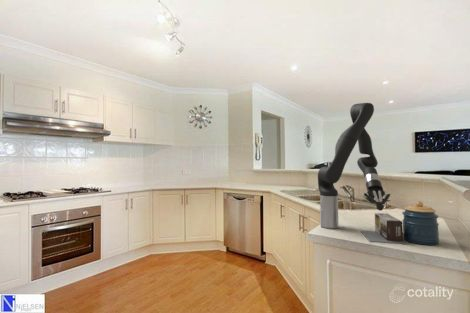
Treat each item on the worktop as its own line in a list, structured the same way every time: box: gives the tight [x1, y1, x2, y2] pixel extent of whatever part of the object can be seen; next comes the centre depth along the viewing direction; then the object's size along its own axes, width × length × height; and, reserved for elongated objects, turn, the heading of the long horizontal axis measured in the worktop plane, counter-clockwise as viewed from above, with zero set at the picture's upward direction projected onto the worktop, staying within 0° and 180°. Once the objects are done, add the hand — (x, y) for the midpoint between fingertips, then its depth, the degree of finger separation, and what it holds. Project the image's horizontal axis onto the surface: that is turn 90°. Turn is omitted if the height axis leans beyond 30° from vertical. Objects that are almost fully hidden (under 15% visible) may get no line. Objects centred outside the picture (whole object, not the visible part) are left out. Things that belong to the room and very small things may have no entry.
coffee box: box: [374, 212, 404, 241], centre depth 114 cm, size 9×6×16 cm
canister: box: [401, 201, 440, 246], centre depth 108 cm, size 13×13×18 cm
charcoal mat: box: [360, 229, 409, 245], centre depth 113 cm, size 15×17×1 cm
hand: (380, 209), depth 121 cm, fingers closed
